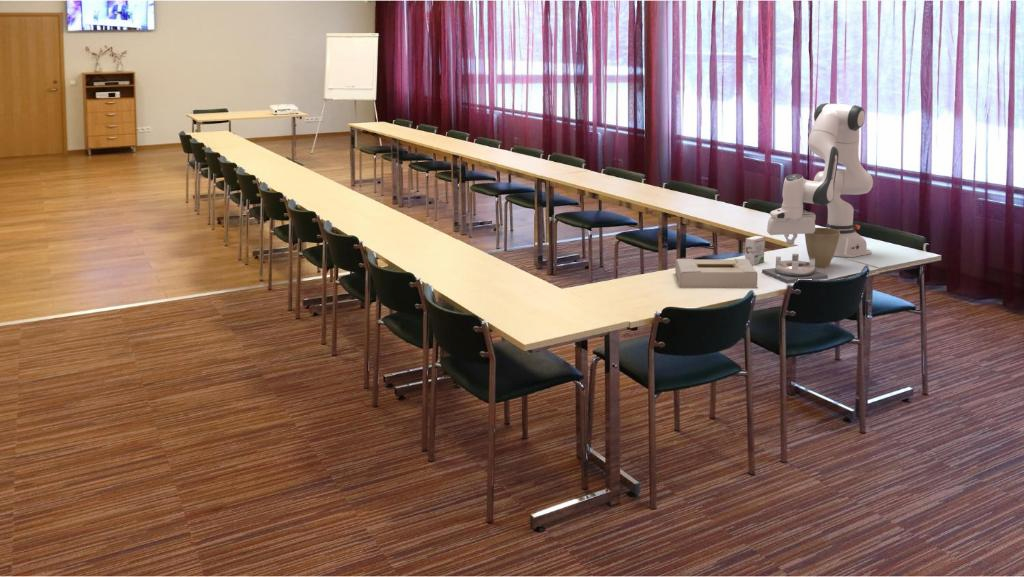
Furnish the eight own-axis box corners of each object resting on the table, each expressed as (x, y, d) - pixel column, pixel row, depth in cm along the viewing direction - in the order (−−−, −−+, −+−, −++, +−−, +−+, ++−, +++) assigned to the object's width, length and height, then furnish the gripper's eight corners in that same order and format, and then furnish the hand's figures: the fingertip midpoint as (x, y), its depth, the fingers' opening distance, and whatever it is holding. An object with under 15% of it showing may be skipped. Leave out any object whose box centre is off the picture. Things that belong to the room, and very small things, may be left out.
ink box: (755, 260, 438) (756, 235, 435) (764, 262, 434) (765, 236, 431) (744, 263, 433) (745, 238, 430) (753, 265, 429) (754, 239, 426)
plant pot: (795, 264, 429) (797, 229, 425) (822, 260, 434) (825, 226, 430) (816, 271, 416) (819, 235, 412) (844, 268, 421) (847, 232, 417)
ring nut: (818, 269, 412) (819, 256, 410) (808, 278, 399) (809, 264, 397) (781, 265, 420) (782, 252, 419) (770, 273, 407) (771, 260, 405)
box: (748, 274, 416) (674, 274, 418) (749, 257, 414) (675, 257, 416) (758, 289, 394) (679, 289, 396) (759, 271, 392) (680, 271, 394)
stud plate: (801, 268, 422) (801, 264, 421) (827, 278, 404) (828, 274, 404) (761, 272, 416) (762, 269, 415) (787, 283, 398) (787, 279, 398)
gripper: (813, 210, 413) (811, 241, 417) (766, 212, 413) (765, 243, 417) (818, 213, 407) (816, 244, 411) (771, 215, 407) (769, 246, 411)
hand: (790, 243), depth 414 cm, fingers closed
